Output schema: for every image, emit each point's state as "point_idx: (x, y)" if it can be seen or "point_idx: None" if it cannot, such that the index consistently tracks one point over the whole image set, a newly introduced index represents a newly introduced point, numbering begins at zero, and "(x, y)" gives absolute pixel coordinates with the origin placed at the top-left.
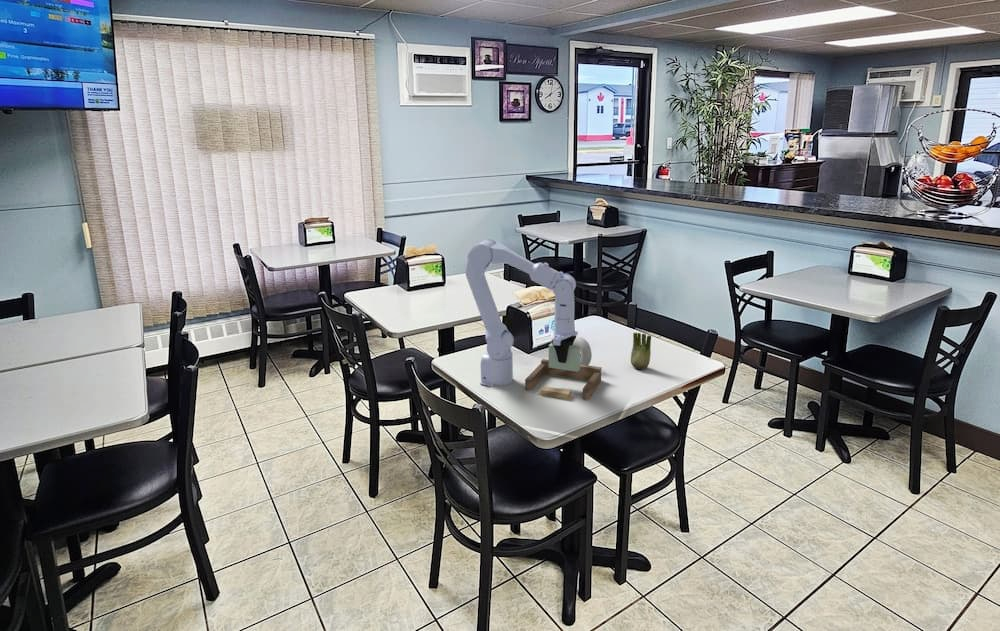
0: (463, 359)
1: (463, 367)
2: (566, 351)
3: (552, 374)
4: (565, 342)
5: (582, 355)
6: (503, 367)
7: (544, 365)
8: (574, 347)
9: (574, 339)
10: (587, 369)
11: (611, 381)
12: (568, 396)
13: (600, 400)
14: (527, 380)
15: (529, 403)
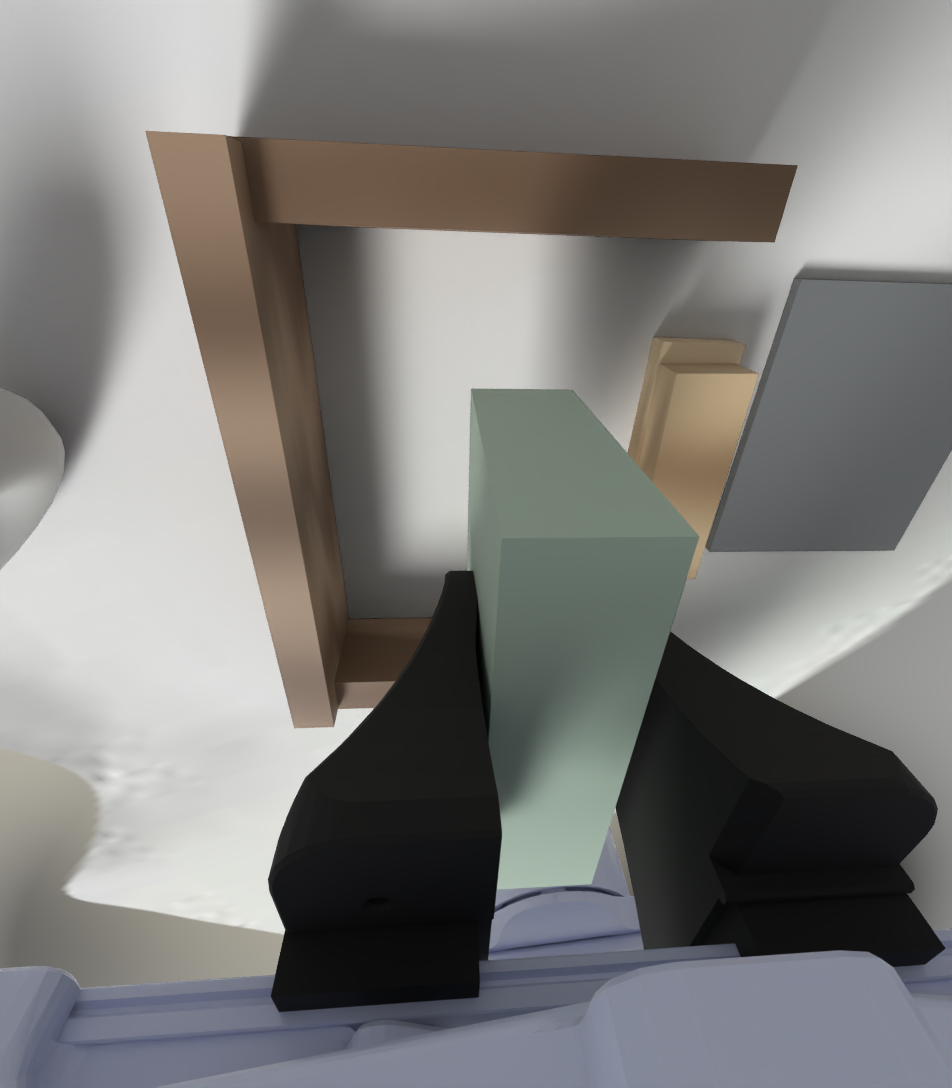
0: None
1: None
2: (725, 672)
3: (340, 592)
4: (844, 856)
5: None
6: (609, 841)
7: (358, 681)
8: (596, 624)
9: (430, 769)
10: (270, 332)
11: (129, 26)
12: (739, 368)
13: (661, 43)
14: None
15: (761, 573)
